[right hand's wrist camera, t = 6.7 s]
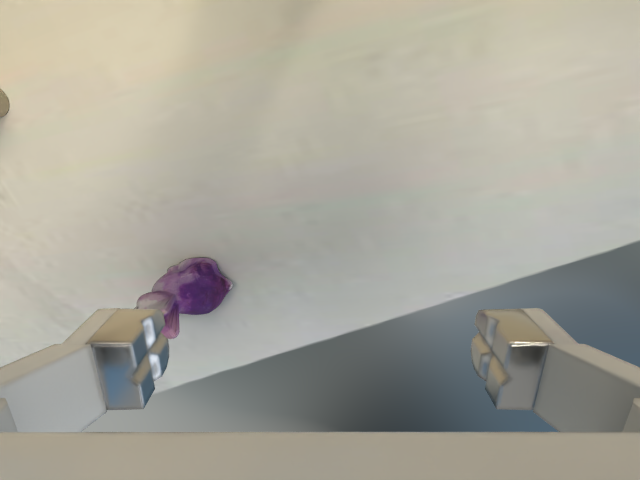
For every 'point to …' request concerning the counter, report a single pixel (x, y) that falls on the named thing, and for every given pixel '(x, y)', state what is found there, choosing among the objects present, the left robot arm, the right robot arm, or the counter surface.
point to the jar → (3, 103)
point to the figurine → (186, 292)
